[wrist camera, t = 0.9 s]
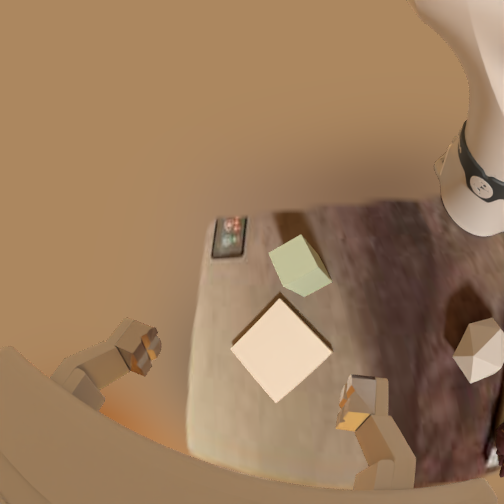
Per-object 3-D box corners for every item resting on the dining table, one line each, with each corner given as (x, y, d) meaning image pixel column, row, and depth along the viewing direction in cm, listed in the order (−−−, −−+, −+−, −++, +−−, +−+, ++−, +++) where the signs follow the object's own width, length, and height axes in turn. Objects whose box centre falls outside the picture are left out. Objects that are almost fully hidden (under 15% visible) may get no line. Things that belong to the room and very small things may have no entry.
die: (438, 363, 31) (468, 402, 22) (452, 311, 29) (492, 345, 20) (476, 352, 31) (507, 385, 21) (489, 303, 29) (528, 331, 19)
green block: (318, 255, 44) (301, 234, 36) (332, 281, 42) (318, 267, 33) (291, 269, 46) (268, 253, 37) (304, 296, 43) (283, 286, 35)
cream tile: (282, 299, 45) (279, 298, 44) (333, 351, 39) (332, 352, 38) (233, 348, 46) (230, 348, 45) (278, 401, 40) (275, 403, 39)
